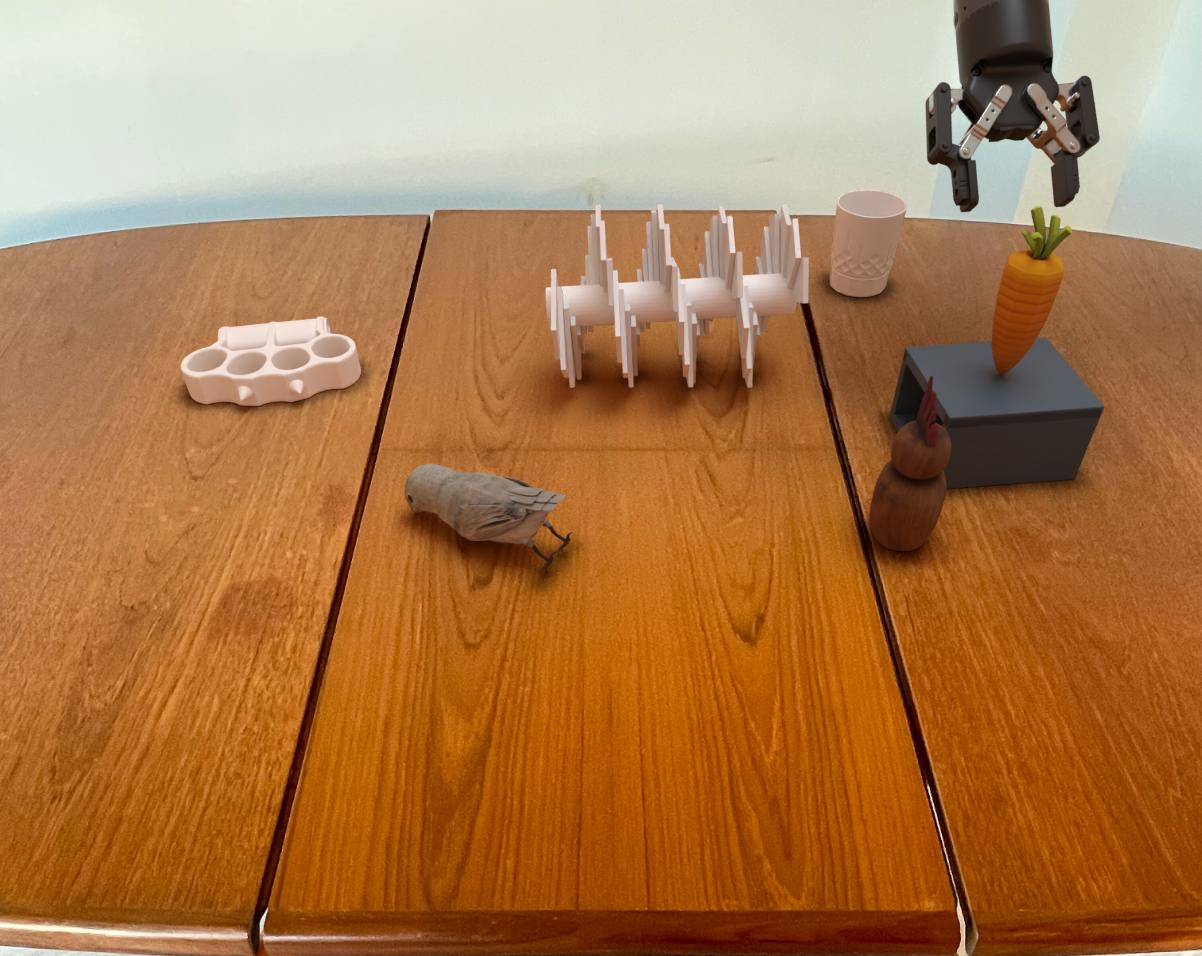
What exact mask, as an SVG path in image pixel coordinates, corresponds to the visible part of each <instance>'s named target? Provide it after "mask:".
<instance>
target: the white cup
mask: <svg viewBox="0 0 1202 956" xmlns="http://www.w3.org/2000/svg"><path fill="white" fill-rule="evenodd" d="M907 209H908V204H907V202H906V200H905V199H904V198H902V197H901V196H899V195H897V194H894V193H893V192H889V191H885V190H879V189H869V188H867V189H865V188H864V189H855V190H849V191H847V192H843V193H842V194H841V195H839V197H838V198H837V200H836V207H835V216H834V224H833V225H834V226H833V233H832V234H833V235H832V244H831V252H830V253H831V255H830V263H831V264H830V270H829V277H828V278H829V279H828V280H829V286H830V287H831V289H833V290H834V291H835V292H837V293H839V294H842V295H844V296H847V297H855V298H868V297H874V296H876V295H879V294H881V293H882V292H883V291H884V290H885V289H886V287H887V284H888V279H889V275H890V271H891V268H892V266H893V263H894V259H895V255H896V251H897V248H898V245H899V241H900V237H901V232H902V229H903V226H904V221H905V217H906V214H907V213H906V212H907Z"/></svg>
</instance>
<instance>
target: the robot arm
mask: <svg viewBox="0 0 1202 956" xmlns="http://www.w3.org/2000/svg"><path fill="white" fill-rule="evenodd" d="M952 1H953V2H952V5H953V7H952V8H953V10H952V11H953V20H952V22H953V28H954V30H955V32H954V33H955V45H956V56H957V57H956V58H957V67H958V80H959V83H960V85H961V86H960V88H951V85H950V84H949V83H948V82H946V81H941V82H939V83H938V84H937V85H936V87H935V88H934V90H932V91H931V93H930V95H929V96H928V97H927V98H926V100H925V131H926V132H925V135H926V160H927V162H928V163H929V165H932V166H936V165H939V164H940V165H943V166H945V167H947V168H948V169H949V171H950V177H951V188H952V200H953V202H954V204H955V206H957V207H958V206H959V211H960V212H961V213H970V212H972V211H973V210H974V209H975V208H976V207H977V206H978V205H979V202H980V194H979V184H978V172H977V171H978V170H977V160H976V159H972V157H973V156H974V154H975V152H976V151H977V149H978V147H979V146H980V144H981V142H982V141H983V139H986V140H988V143H998V142H1001V141H1003V140H1009V141H1014V142H1018V141H1024V140H1025V139H1026V140H1028V141H1029V143H1030V144H1031V145H1032V146H1033V147H1034V148H1035V149H1037V150H1041V151H1042V152H1043V153H1044V154H1045V155H1046V157H1048V158H1049V160H1050V161H1051V162H1052V165H1051V166H1050V175H1051V186H1052V197H1053V198H1052V199H1053V205H1054V207H1055V208H1064V207H1066V206H1067V205H1069V204H1071V203H1072V202H1073V201H1074V199H1075V197H1076V195H1078V194H1079V192H1080V187H1081V184H1080V172H1079V163H1078V162H1079V161H1078V158H1081V157H1082V156H1084V155H1085V154H1086V153H1087V152H1088V151H1089V150H1091V149H1092V148H1093V147H1095V146H1096V145H1097V144H1098V143H1099V142H1100V140H1101V136H1100V130H1099V122H1098V117H1097V116H1098V115H1097V110H1096V109H1097V108H1096V103H1095V96H1094V89H1093V83H1092V82H1093V81H1092V79H1091V78H1090V77H1089V76H1088V75H1082V76H1080V77H1079V78H1078V79H1077V80H1075V81H1073V82H1064V83H1058V81H1057V80H1056V78H1055V75H1054V74H1053V63H1054V62H1053V61H1054V45H1053V35H1052V24H1051V11H1050V0H952ZM1055 102H1058V103H1059V105H1060V107H1059V110H1060V111H1061V112H1062V113H1064V115H1065V117H1064V116H1063V115H1062V113H1060V111H1059V110H1058V109H1057V108H1056V106H1055V105H1054V104H1055ZM957 106H958V109H959V110H960V112H961V113H962V114H963V115H964V116H965V118H966V119H967V120H968V121H969V122H970V124H969V126H968V127H967V129H966V130H965V133H964V134H963V136H961V139H960V140H959V142H958V143H957V144H956V143H953V123H952V114H953V113H954V112H955V111H956V109H957ZM1043 123H1045V125H1046V130H1044V129H1043V128H1041V125H1042V124H1043Z"/></svg>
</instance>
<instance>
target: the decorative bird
mask: <svg viewBox="0 0 1202 956" xmlns="http://www.w3.org/2000/svg"><path fill="white" fill-rule="evenodd" d="M566 496H567V494H566V493H565V494H563V493H558V492H557V491H551V490H546V488H540V487H539V488H538V487H534V486H532V485H530V484H529V483H527V482H526V481H523V480H521V479H518V478H515V477H510V476H499V475H495V474H492V473H487V472H479V471H475V472H470V471H461V470H456V469H453V468H450V467H448V466H444V465H440V464H437V463H424V464H421V465H419V466H416V467H415V468H414V469H413V470H412V471H411V473H409V474H408V477H407V479H406V482H405V485H404V498H405V501H406V503H407V506H408V508H409V509H410V511H412V512H413V513H414V514H417V513H423V512H429V513H433V514H436V515H437V516H438V517H439V519H440V520H442V522H444V523H445V524H446V525H448V526H449V527H451V528H452V529H453V530H455V531H456V532H457V533H458V534H459V535H460V537H462V538H464V539H466V540H467V541H472V542H480V541H490V542H496V543H507V544H508V543H509V544H513V545H525V546H527V547H528V548H531V549H532V550H533V552H534V553H535V555H538V557H540V558H541V559H543V560H545V561H546V563H545V564H544V565H543V566H542V568H541V569H540V570H541V571H540V576H542V574H543V571H544V572H545V573H547V568H548V567H550V566H551V564H552V565H553V564H554V563H553V562H554V560H555V558H554V555H555V553H556V557H557V558H559V554H560V553H559V552H561V553H563V552H564V548H566V547H567V546H568V545H570V542H571V538H570V537H571V535H572V534H573V533H574V532H573V531H571V532H569V533H567V534H566V537H563V536H562V535H560V534H559V533H557V531H556V530H555V529H554V527H553V525H552V524H551V523H550V522H549V520H547V517H548V515H549V513H550V512H553V511H554V510H555V509H556V508H557V505H558V503H561V502H563V500H564V499H565V498H566ZM542 526H543V527H545V528H547V529H549V531H550V532H551V534H552V535H553V536H554V537H556V538H557V539H559V540H560V541H561V542H563V543H561V545H560V546H559V548H558V549H557V551H553V552H552V553H550V555H549V557H548V556H547V555H545V554H543V553H541V551H540V550H539V549H538V548H537V546H536V544H534V542H533V541H532V539H533V538H534V537H535V536H536V535H537V533H538V532H539V531H540V529H541V528H542Z"/></svg>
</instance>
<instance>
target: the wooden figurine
mask: <svg viewBox="0 0 1202 956" xmlns="http://www.w3.org/2000/svg"><path fill="white" fill-rule="evenodd" d="M932 386H933V376H930V378H929V381H928V384H927V387H926V390H925V393H924V396H923V400H922V403H921V406H920V409H919V412H918V415H917V418H916V421H913V422H909V423H907V424H906V425H904V426H903V427H902V428H901V429H900V430H899V431H898V432H897V433H896V434H895V436H894V437H893V441H892V444H891V448H890V460H889V461H888V462H887V463H885V464H884V466H883V468H882V469H881V471H880V473H879V475H878V477H877V479H876V482H875V485H874V489H873V493H872V497H871V502H870V506H869V507H870V508H869V524H870V529H871V533H872V535H873V538H874V539H875V540H876V541H877V542H878V543H879V544H880V545H881V546H882V547H884V548H886V549H888V550H889V551H890V550H891V551H896V552H909V551H913V550H917V549H918V548H919V547H922V545H923V544H924V543H925V542H926V541H927V540H928V539H929V538H930V536H931V534H932V533H933V532H934V531H935V527H936V526H937V524H938V522H939V519H940V516H941V514H942V510H943V506H944V503H945V499H946V495H947V489H946V477H945V474H944V469H945V467H946V466H947V464H948V461H949V458H950V454H951V438H950V436H949V434H948V433H947V431H946V430H945V429H944V428H943V427H942V426H941V425H939V424H936V416H937V410H934V408H935V401H936V392H933V394H932Z"/></svg>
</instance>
